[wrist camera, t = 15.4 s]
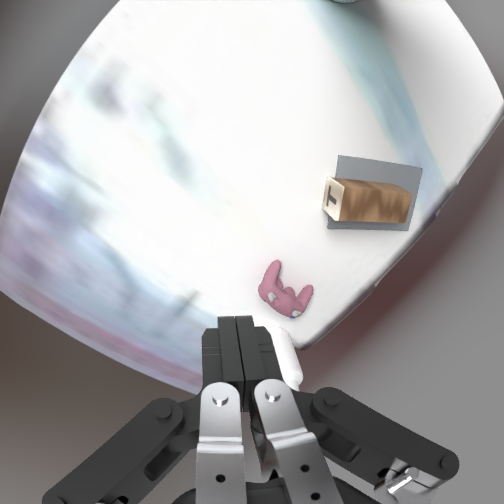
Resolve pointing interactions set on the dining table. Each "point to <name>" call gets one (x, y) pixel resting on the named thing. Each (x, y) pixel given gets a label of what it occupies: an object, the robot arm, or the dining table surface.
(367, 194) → the walnut block
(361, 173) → the rubber mat
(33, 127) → the dining table surface
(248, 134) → the dining table surface
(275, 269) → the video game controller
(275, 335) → the spray bottle
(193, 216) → the dining table surface
